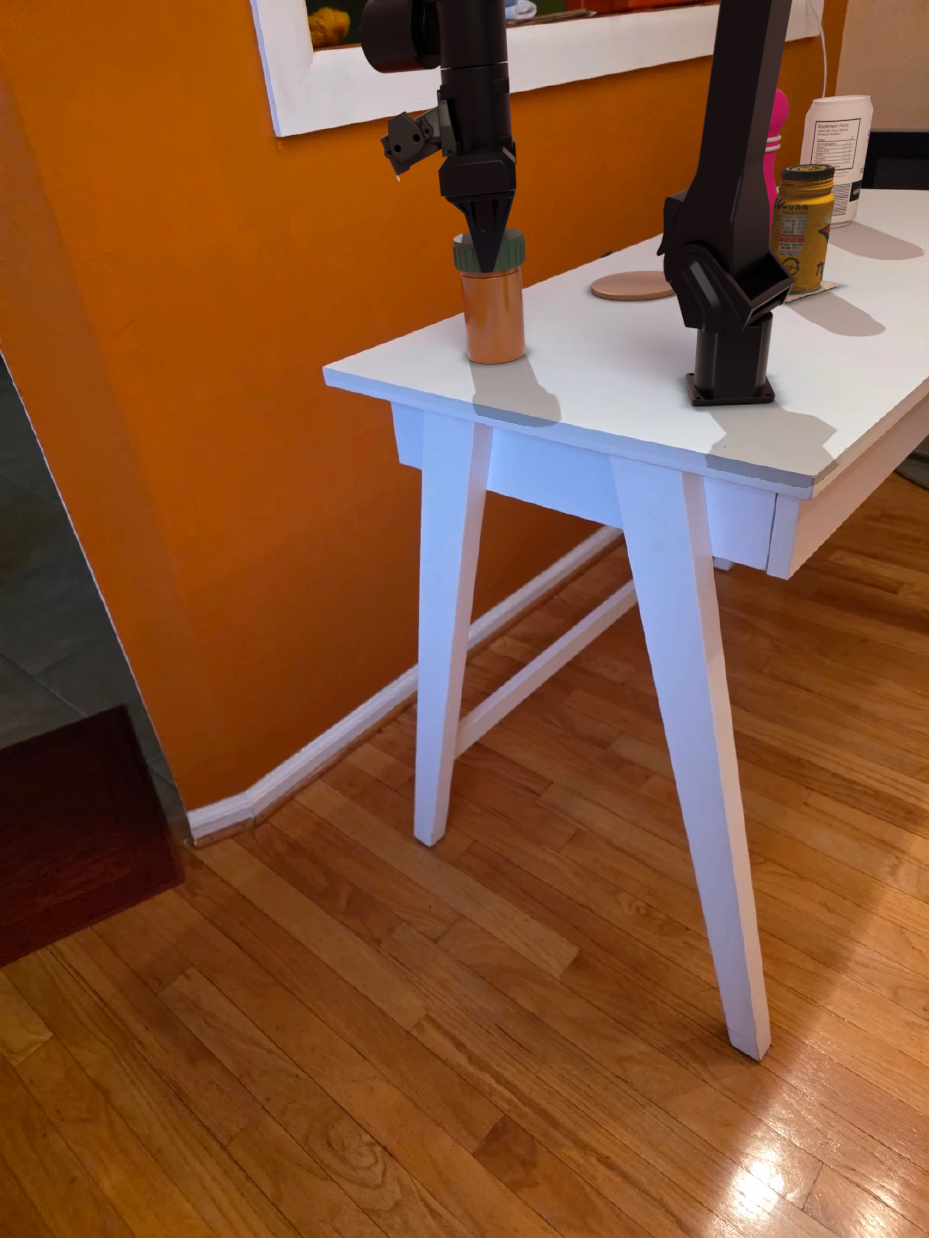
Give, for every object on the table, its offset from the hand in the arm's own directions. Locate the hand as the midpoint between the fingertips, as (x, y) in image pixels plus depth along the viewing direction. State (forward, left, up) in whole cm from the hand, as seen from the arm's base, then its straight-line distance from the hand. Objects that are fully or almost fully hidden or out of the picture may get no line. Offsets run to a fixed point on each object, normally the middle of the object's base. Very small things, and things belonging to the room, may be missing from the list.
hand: (488, 263), depth 78 cm
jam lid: (0, 0, +2) cm, 2 cm away
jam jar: (0, 0, -9) cm, 9 cm away
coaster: (+22, -15, -9) cm, 28 cm away
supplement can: (+50, -42, -9) cm, 66 cm away
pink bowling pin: (+32, -29, -9) cm, 44 cm away
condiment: (+17, -31, -9) cm, 36 cm away
